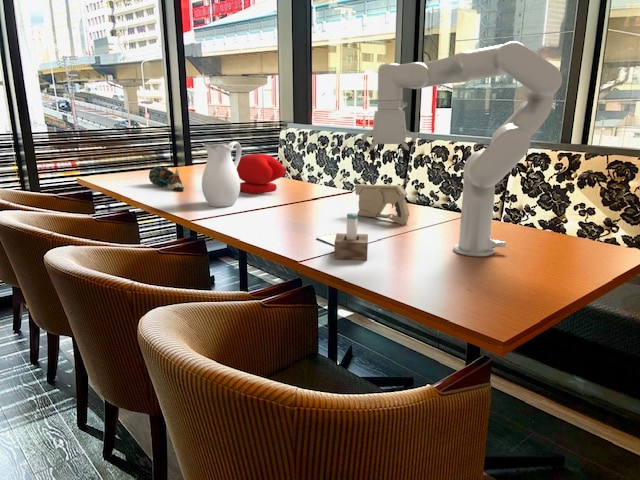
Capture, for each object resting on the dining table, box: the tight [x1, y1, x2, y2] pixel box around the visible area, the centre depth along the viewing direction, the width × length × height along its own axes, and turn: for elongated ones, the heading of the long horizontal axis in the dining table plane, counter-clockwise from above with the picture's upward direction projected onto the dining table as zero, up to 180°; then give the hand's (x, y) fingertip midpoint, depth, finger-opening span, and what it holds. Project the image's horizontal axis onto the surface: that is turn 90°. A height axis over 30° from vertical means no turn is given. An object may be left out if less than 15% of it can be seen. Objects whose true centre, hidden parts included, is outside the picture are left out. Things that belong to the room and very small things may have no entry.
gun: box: [354, 183, 410, 226], centre depth 206 cm, size 24×3×15 cm, turn 47°
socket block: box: [333, 233, 369, 261], centre depth 161 cm, size 10×10×6 cm
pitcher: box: [201, 141, 243, 208], centre depth 234 cm, size 24×17×28 cm
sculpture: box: [148, 166, 185, 193], centre depth 274 cm, size 13×13×30 cm
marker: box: [346, 212, 359, 240], centre depth 160 cm, size 3×3×12 cm
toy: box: [236, 153, 286, 195], centre depth 264 cm, size 16×20×30 cm
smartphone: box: [316, 233, 336, 247], centre depth 176 cm, size 8×1×16 cm
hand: (388, 162), depth 163 cm, fingers open, 9 cm apart
